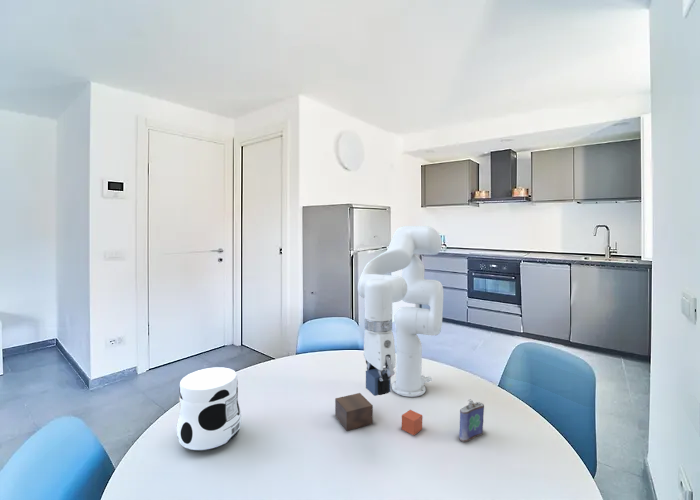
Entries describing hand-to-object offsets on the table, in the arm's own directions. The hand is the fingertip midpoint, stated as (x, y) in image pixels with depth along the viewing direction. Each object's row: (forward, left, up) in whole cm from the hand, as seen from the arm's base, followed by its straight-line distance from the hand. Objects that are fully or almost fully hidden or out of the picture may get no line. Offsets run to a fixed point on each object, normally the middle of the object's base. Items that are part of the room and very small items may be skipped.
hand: (378, 388), depth 94 cm
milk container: (+42, -24, -17) cm, 52 cm away
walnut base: (0, -15, -17) cm, 23 cm away
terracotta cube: (-14, -3, -17) cm, 22 cm away
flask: (-28, +7, -17) cm, 33 cm away
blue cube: (0, 0, 0) cm, 0 cm away
